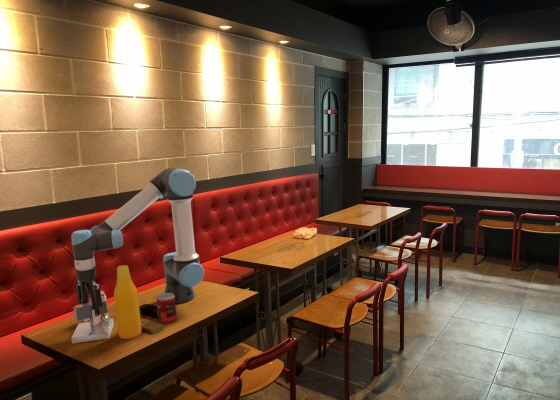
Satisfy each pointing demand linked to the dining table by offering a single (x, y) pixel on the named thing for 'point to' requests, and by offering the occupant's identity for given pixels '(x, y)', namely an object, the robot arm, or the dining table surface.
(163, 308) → the canned food
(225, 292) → the dining table surface
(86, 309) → the grey block orange dot
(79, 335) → the plate
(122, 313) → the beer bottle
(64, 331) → the dining table surface
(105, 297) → the soda can
